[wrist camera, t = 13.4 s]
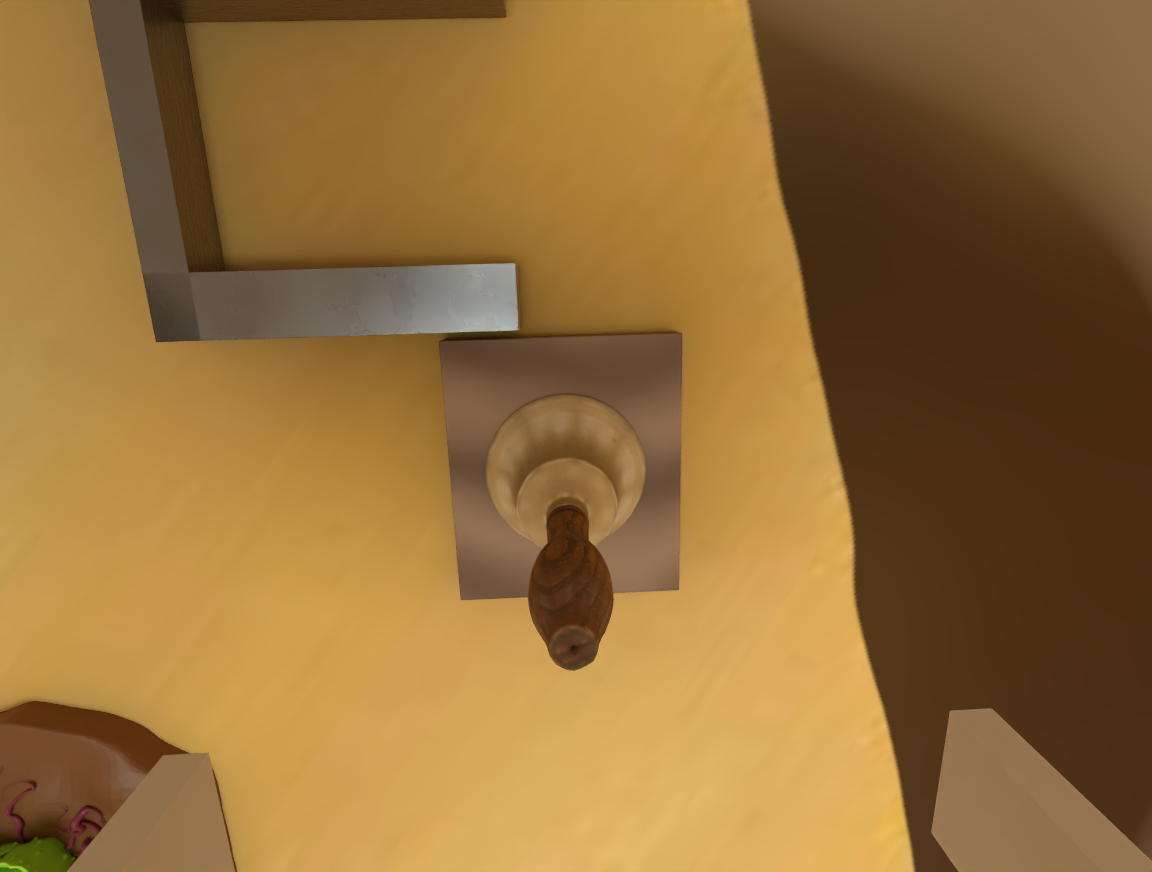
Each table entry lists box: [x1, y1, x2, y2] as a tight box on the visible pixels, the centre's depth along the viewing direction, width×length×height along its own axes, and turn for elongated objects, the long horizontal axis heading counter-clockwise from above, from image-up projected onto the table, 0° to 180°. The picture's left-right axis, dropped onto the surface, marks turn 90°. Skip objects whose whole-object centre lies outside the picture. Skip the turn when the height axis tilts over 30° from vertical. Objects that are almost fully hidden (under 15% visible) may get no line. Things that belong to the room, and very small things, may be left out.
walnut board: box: [439, 332, 682, 600], centre depth 31 cm, size 14×12×2 cm
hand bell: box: [486, 394, 646, 671], centre depth 23 cm, size 8×8×16 cm
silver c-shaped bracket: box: [89, 0, 522, 342], centre depth 26 cm, size 17×16×3 cm
